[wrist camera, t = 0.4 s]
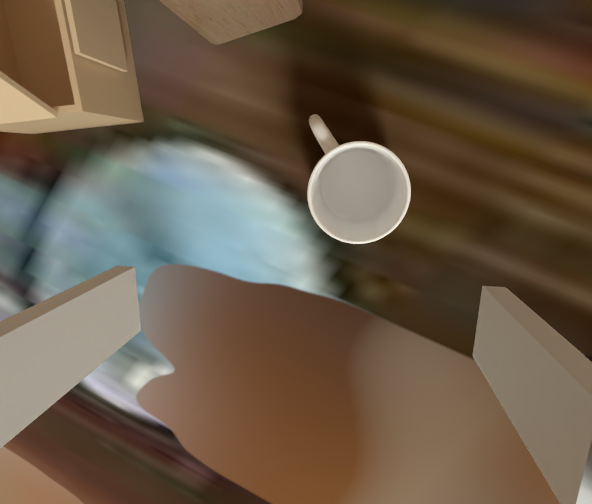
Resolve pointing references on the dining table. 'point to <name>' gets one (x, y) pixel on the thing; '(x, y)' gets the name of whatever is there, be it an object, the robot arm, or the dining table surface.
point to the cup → (356, 188)
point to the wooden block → (233, 16)
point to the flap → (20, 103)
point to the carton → (71, 62)
